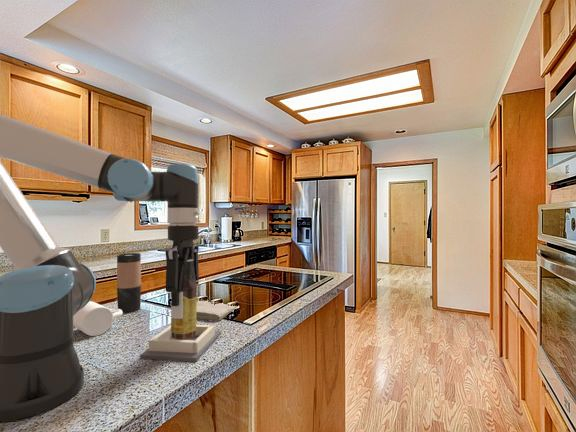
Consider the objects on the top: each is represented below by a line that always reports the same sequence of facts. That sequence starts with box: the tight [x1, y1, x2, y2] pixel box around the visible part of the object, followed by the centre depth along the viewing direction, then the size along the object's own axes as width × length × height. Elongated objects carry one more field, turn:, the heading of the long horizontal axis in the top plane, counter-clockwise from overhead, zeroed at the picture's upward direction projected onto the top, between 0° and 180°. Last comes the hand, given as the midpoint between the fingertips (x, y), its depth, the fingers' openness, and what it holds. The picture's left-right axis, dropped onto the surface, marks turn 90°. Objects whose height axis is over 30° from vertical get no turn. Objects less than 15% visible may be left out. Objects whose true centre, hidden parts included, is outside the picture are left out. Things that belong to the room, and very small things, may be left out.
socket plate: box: [139, 324, 222, 362], centre depth 78 cm, size 16×14×3 cm
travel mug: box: [116, 252, 142, 314], centre depth 108 cm, size 8×8×20 cm
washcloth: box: [196, 300, 237, 322], centre depth 104 cm, size 12×18×3 cm, turn 70°
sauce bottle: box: [170, 259, 198, 340], centre depth 78 cm, size 6×6×20 cm
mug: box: [73, 300, 124, 337], centre depth 90 cm, size 12×10×8 cm
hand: (183, 313), depth 78 cm, fingers closed on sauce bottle, 6 cm apart
